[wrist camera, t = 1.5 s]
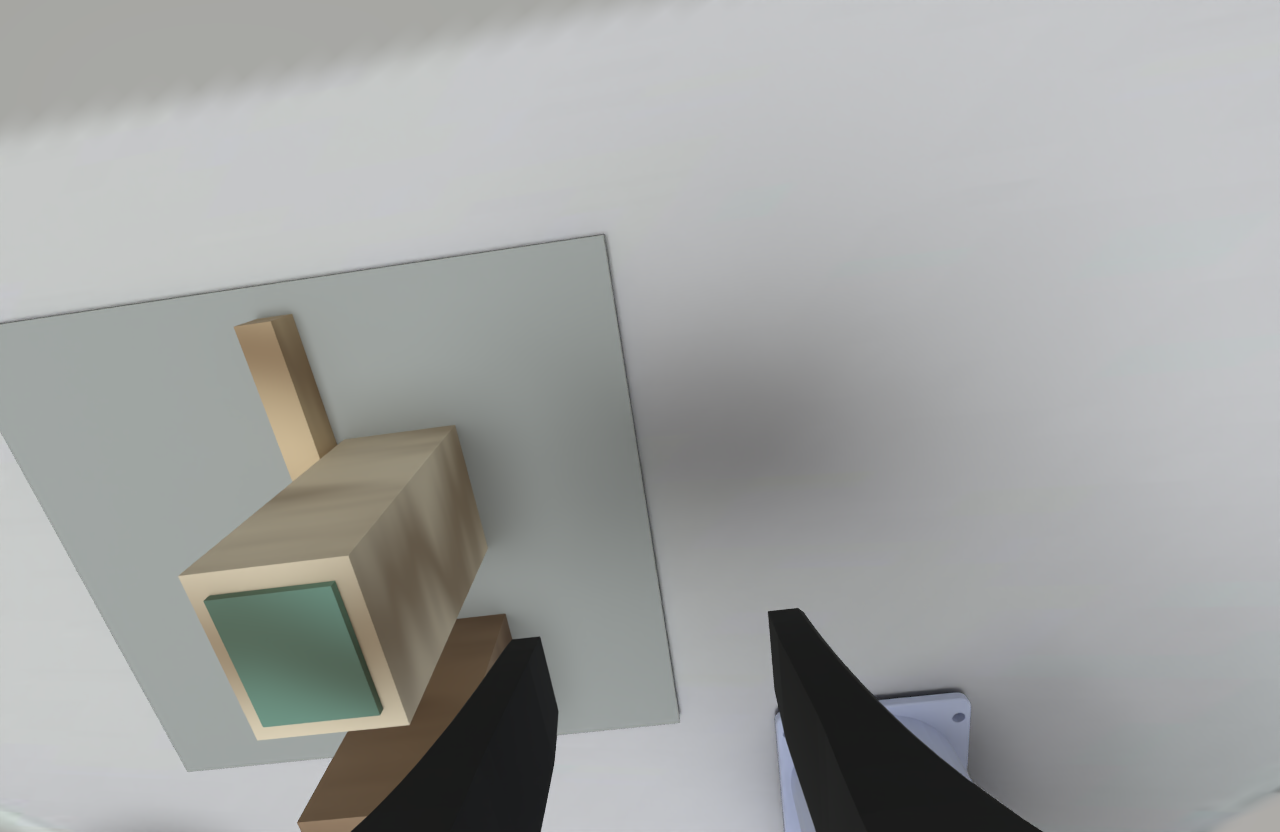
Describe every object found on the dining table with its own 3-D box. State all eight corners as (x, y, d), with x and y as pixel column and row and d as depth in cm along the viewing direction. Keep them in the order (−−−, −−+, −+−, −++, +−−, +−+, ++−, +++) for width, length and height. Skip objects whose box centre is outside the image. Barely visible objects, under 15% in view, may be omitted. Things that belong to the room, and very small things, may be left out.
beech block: (488, 548, 23) (406, 732, 15) (384, 560, 23) (252, 747, 15) (455, 424, 21) (343, 560, 13) (343, 439, 21) (171, 581, 13)
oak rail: (435, 729, 26) (425, 754, 25) (407, 732, 26) (397, 757, 25) (292, 313, 20) (270, 321, 18) (256, 318, 20) (233, 326, 19)
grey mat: (679, 715, 26) (679, 723, 26) (193, 764, 27) (187, 772, 27) (604, 234, 19) (603, 235, 19) (-42, 330, 20) (-55, 332, 20)
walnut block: (531, 710, 25) (483, 927, 18) (438, 719, 26) (353, 938, 18) (505, 613, 24) (440, 809, 16) (406, 624, 24) (297, 822, 16)
